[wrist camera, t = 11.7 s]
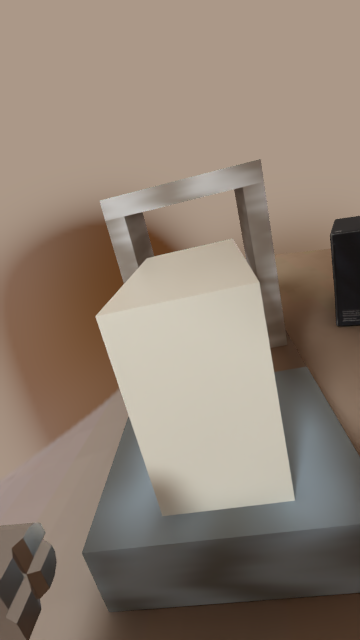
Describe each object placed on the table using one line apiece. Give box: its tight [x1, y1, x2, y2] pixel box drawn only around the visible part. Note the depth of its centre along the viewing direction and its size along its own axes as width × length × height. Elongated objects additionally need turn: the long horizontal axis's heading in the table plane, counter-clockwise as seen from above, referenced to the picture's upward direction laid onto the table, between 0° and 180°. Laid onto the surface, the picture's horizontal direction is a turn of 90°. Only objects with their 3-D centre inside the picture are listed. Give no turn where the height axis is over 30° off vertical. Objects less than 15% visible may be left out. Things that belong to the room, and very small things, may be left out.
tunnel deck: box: [82, 159, 360, 612], centre depth 27 cm, size 13×32×18 cm, turn 177°
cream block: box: [96, 239, 295, 516], centre depth 19 cm, size 6×12×10 cm, turn 177°
